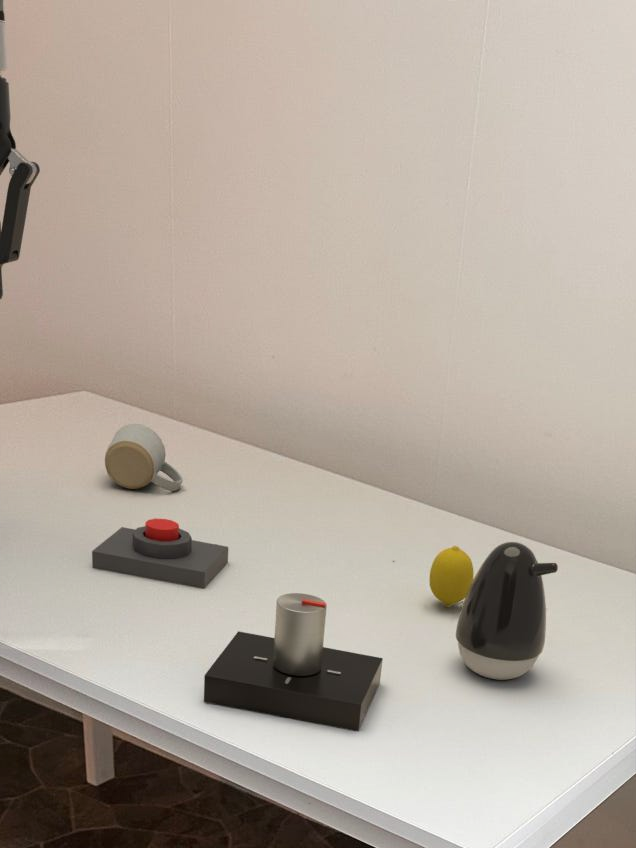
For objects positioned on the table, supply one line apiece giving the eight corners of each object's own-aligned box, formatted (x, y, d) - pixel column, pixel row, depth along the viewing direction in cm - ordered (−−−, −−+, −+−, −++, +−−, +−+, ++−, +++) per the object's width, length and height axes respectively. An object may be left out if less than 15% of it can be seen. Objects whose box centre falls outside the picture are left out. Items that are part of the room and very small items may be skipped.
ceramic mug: (102, 487, 169) (102, 433, 165) (113, 471, 176) (113, 419, 172) (177, 498, 171) (179, 445, 167) (185, 482, 178) (187, 430, 174)
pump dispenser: (514, 699, 131) (538, 567, 123) (434, 669, 135) (453, 539, 127) (554, 672, 139) (579, 547, 131) (477, 644, 143) (497, 520, 134)
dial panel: (203, 702, 120) (204, 673, 118) (237, 656, 130) (238, 629, 128) (358, 731, 119) (361, 703, 118) (379, 683, 130) (383, 656, 128)
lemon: (452, 596, 155) (460, 537, 150) (477, 612, 151) (486, 552, 147) (417, 600, 152) (425, 540, 147) (441, 617, 148) (450, 555, 144)
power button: (140, 539, 145) (140, 525, 144) (151, 530, 148) (151, 516, 147) (172, 545, 145) (172, 531, 144) (183, 535, 148) (183, 522, 147)
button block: (92, 568, 144) (91, 536, 142) (122, 543, 153) (121, 513, 151) (204, 589, 144) (205, 557, 142) (228, 563, 153) (229, 532, 150)
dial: (267, 671, 121) (271, 603, 117) (279, 652, 125) (283, 586, 121) (315, 679, 121) (320, 612, 117) (325, 660, 125) (331, 595, 121)
